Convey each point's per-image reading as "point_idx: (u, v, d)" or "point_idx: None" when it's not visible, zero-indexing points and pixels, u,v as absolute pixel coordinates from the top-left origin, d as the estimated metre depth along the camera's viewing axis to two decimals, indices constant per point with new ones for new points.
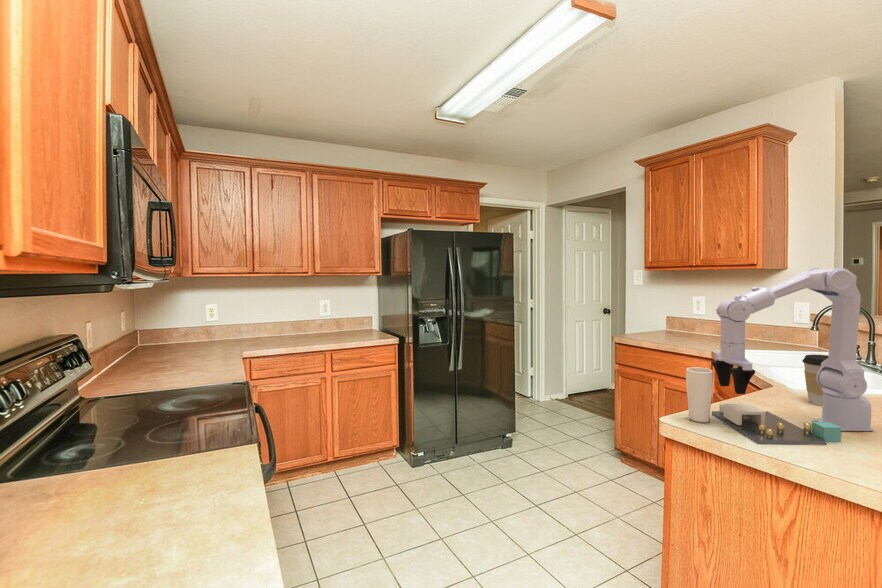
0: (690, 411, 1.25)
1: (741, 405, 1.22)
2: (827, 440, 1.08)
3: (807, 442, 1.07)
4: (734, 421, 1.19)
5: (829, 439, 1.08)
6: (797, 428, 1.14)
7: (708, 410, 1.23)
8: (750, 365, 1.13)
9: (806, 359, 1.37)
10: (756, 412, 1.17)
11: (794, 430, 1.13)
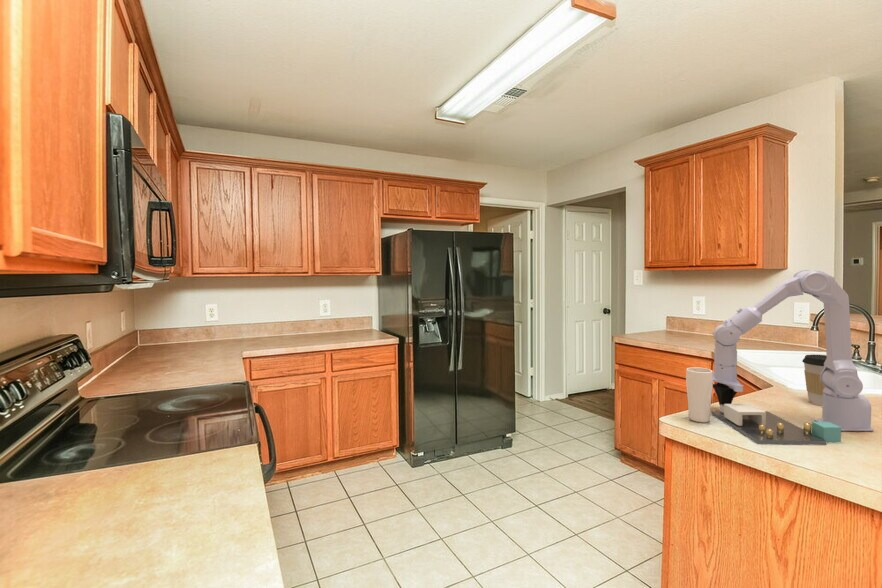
0: (690, 411, 1.25)
1: (742, 406, 1.21)
2: (827, 440, 1.08)
3: (807, 442, 1.07)
4: (735, 421, 1.18)
5: (829, 439, 1.08)
6: (797, 428, 1.14)
7: (708, 410, 1.23)
8: (741, 387, 1.22)
9: (806, 359, 1.37)
10: (757, 412, 1.16)
11: (794, 430, 1.13)
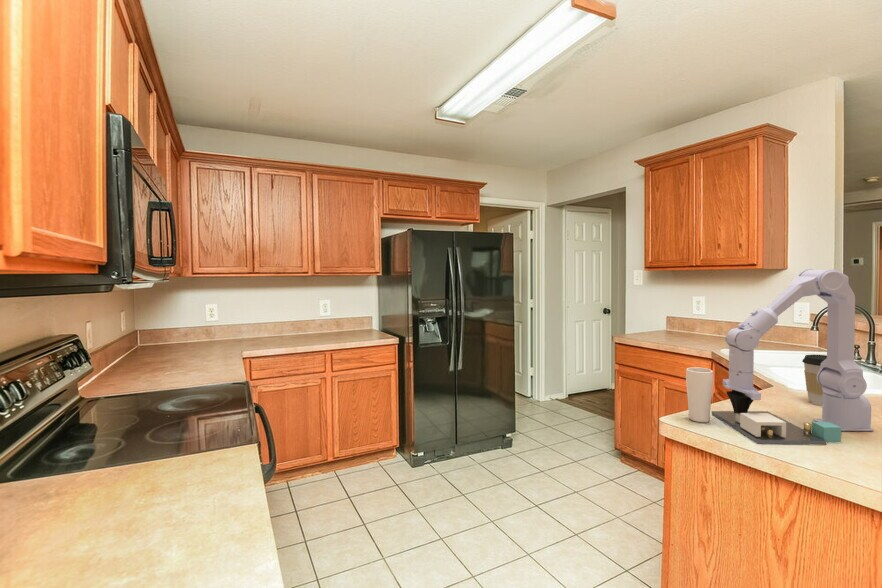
0: (690, 411, 1.25)
1: (759, 415, 1.14)
2: (827, 440, 1.08)
3: (807, 442, 1.07)
4: (752, 432, 1.11)
5: (829, 439, 1.08)
6: (797, 428, 1.14)
7: (708, 410, 1.23)
8: (759, 395, 1.14)
9: (806, 359, 1.37)
10: (776, 423, 1.08)
11: (794, 430, 1.13)
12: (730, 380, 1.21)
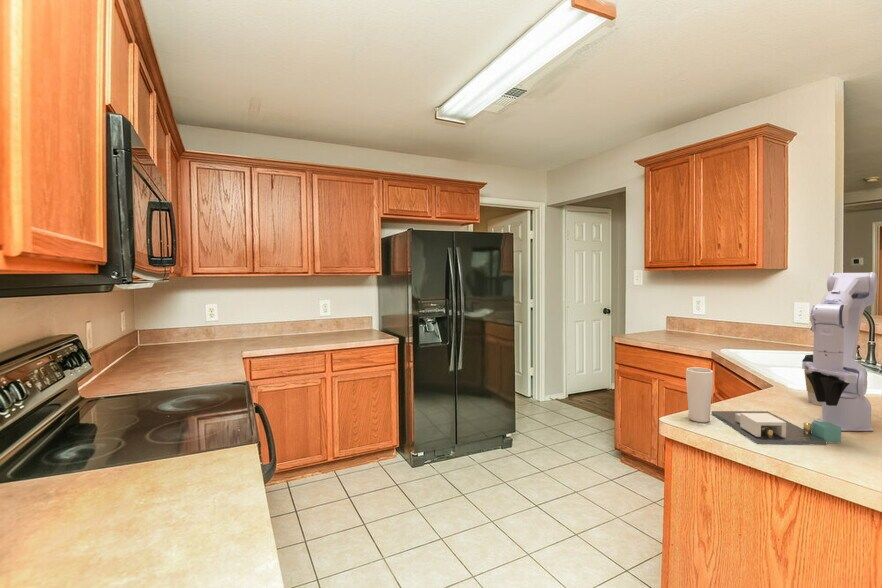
0: (690, 411, 1.25)
1: (760, 415, 1.13)
2: (827, 440, 1.08)
3: (807, 442, 1.07)
4: (752, 432, 1.11)
5: (829, 439, 1.07)
6: (797, 428, 1.14)
7: (708, 410, 1.23)
8: (854, 377, 1.01)
9: (806, 359, 1.37)
10: (776, 423, 1.08)
11: (794, 430, 1.13)
12: (816, 361, 1.09)
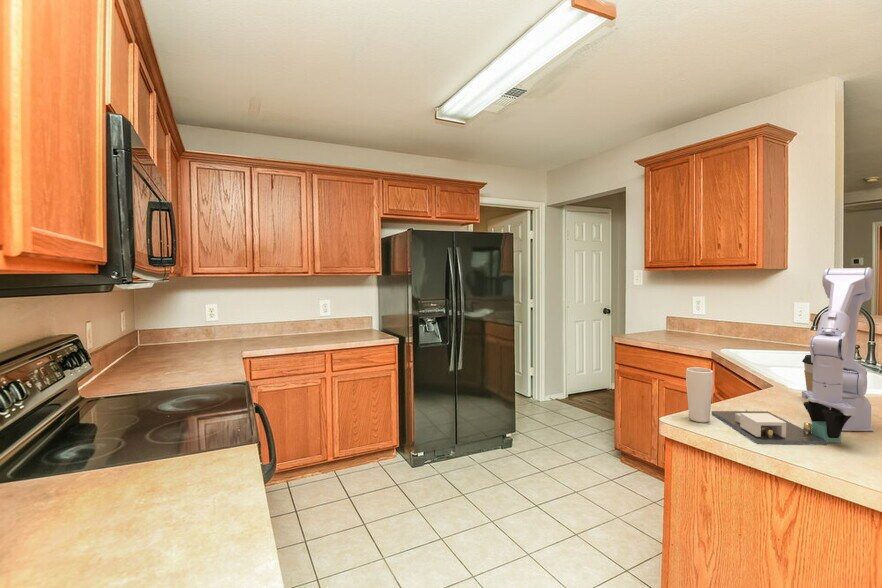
0: (690, 411, 1.25)
1: (760, 415, 1.13)
2: (827, 440, 1.08)
3: (807, 442, 1.07)
4: (752, 432, 1.11)
5: (829, 439, 1.07)
6: (797, 428, 1.14)
7: (708, 410, 1.23)
8: (853, 410, 1.02)
9: (806, 359, 1.37)
10: (776, 423, 1.08)
11: (794, 430, 1.13)
12: (815, 392, 1.09)
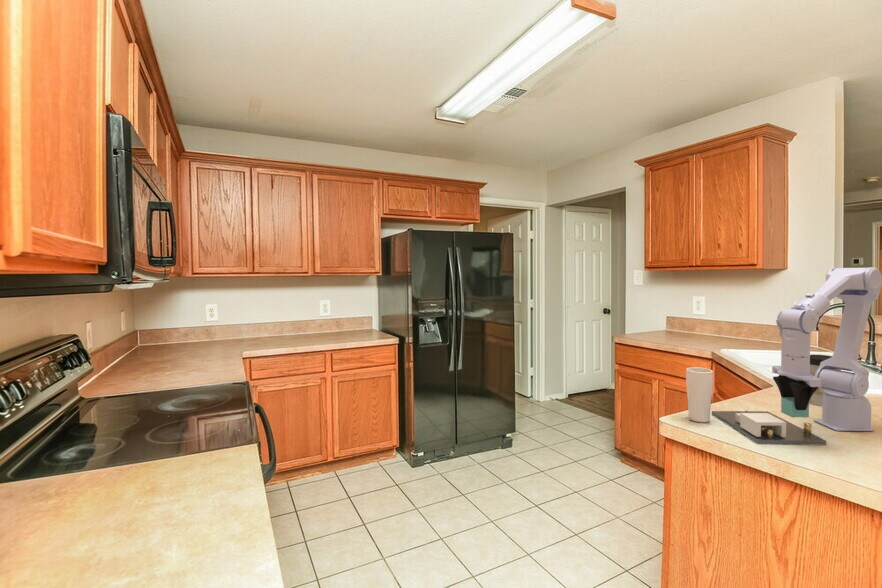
0: (690, 411, 1.25)
1: (760, 415, 1.13)
2: (795, 414, 1.09)
3: (807, 442, 1.07)
4: (752, 432, 1.11)
5: (797, 413, 1.09)
6: (797, 428, 1.14)
7: (708, 410, 1.23)
8: (818, 381, 1.03)
9: None
10: (776, 423, 1.08)
11: (794, 430, 1.13)
12: (783, 366, 1.11)
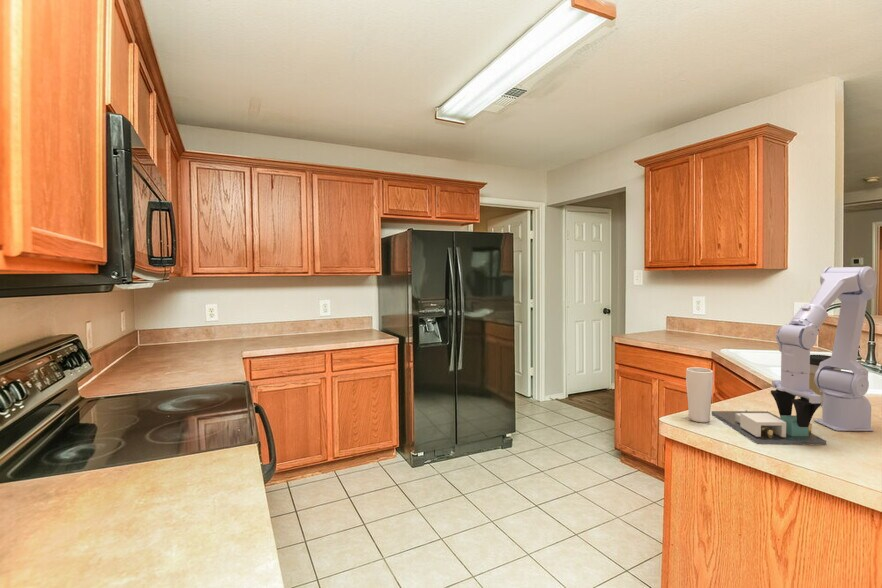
0: (690, 411, 1.25)
1: (760, 415, 1.13)
2: (795, 433, 1.10)
3: (807, 442, 1.07)
4: (752, 432, 1.11)
5: (797, 432, 1.10)
6: None
7: (708, 410, 1.23)
8: (818, 398, 1.04)
9: None
10: (776, 423, 1.08)
11: None
12: (783, 381, 1.11)
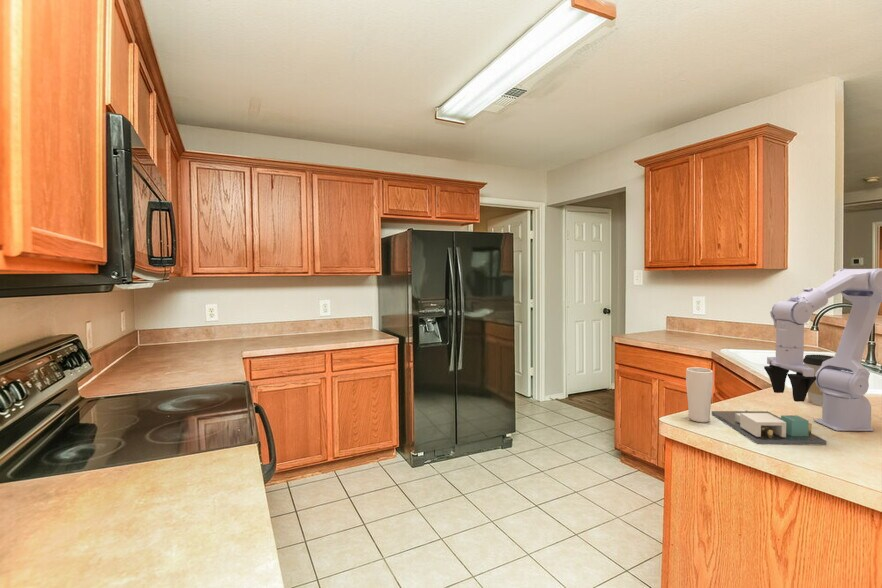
0: (690, 411, 1.25)
1: (760, 415, 1.13)
2: (795, 433, 1.10)
3: (807, 442, 1.07)
4: (752, 432, 1.11)
5: (797, 432, 1.10)
6: None
7: (708, 410, 1.23)
8: (812, 371, 1.06)
9: (806, 359, 1.37)
10: (776, 423, 1.08)
11: None
12: (778, 356, 1.13)
